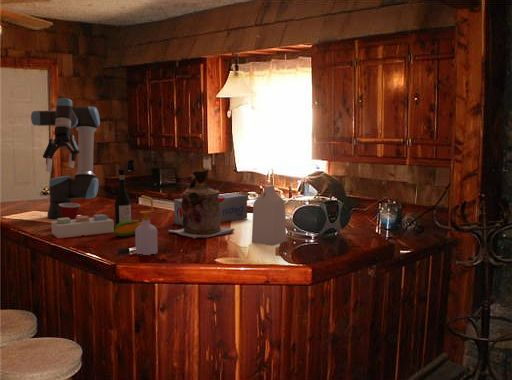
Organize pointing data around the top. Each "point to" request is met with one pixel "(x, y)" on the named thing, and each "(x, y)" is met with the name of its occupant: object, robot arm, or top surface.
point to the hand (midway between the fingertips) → (59, 169)
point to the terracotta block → (82, 218)
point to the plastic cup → (69, 210)
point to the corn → (126, 228)
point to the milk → (269, 218)
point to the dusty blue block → (100, 217)
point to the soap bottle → (146, 234)
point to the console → (82, 228)
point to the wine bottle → (122, 201)
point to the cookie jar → (201, 209)
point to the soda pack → (229, 206)
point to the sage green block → (63, 220)
